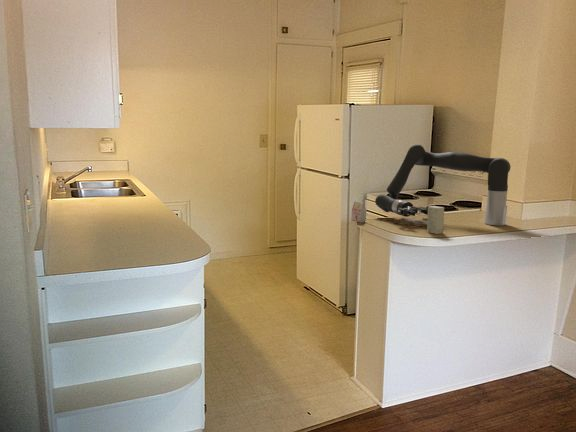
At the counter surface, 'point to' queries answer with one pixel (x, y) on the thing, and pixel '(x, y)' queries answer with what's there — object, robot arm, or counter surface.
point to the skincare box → (435, 219)
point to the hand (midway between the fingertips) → (422, 213)
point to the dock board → (413, 221)
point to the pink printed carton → (358, 212)
